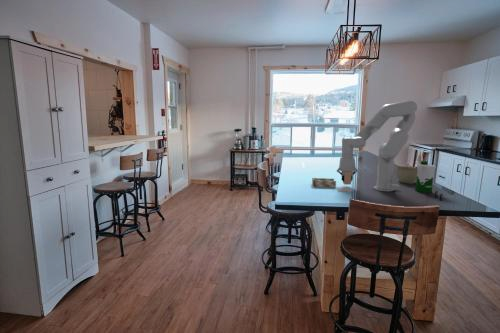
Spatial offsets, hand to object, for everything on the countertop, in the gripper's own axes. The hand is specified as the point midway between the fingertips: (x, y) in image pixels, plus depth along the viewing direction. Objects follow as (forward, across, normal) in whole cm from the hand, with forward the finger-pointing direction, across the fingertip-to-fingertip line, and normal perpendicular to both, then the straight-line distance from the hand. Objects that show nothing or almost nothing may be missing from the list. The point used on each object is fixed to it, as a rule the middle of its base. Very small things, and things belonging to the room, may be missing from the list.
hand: (347, 180), depth 204 cm
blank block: (+2, 0, 0) cm, 2 cm away
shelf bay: (+3, +16, 0) cm, 16 cm away
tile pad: (+4, +4, +9) cm, 10 cm away
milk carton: (+7, -48, +6) cm, 49 cm away
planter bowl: (+7, -48, -20) cm, 53 cm away
